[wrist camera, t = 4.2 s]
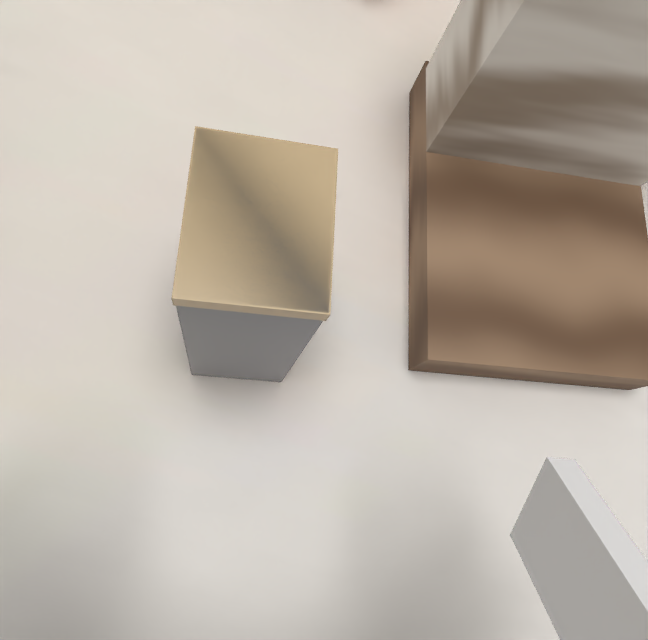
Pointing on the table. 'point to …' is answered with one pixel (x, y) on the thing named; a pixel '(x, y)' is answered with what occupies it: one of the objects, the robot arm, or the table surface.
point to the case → (254, 253)
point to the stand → (532, 194)
